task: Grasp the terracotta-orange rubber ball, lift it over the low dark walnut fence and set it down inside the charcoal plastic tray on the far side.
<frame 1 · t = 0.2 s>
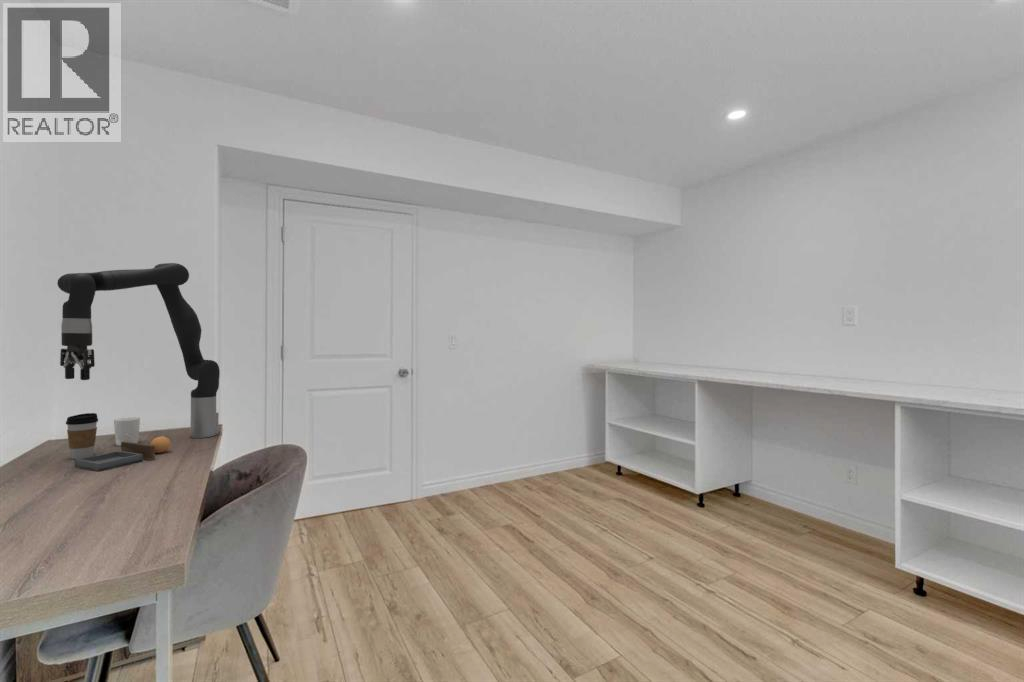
hand: (77, 379, 151), 29 cm above the table, fingers open, 8 cm apart
fence: (137, 457, 159), on the table
coffee cup: (82, 457, 159), on the table
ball: (160, 452, 166), on the table
white cup: (127, 444, 178), on the table
tray: (109, 464, 151), on the table
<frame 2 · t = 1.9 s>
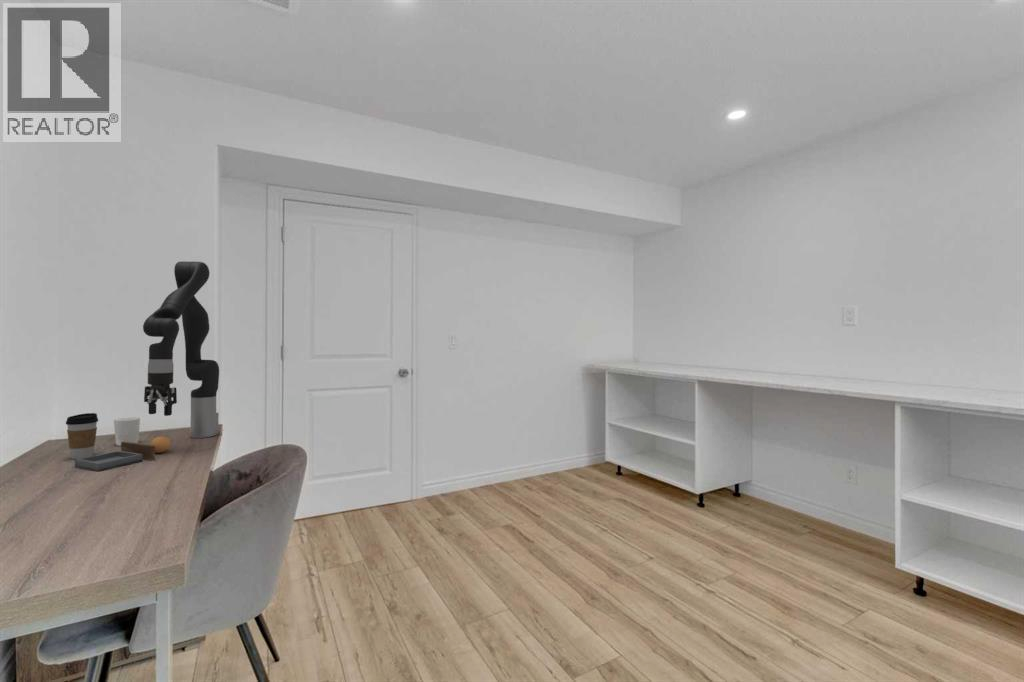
hand: (160, 414, 166), 14 cm above the table, fingers open, 8 cm apart
nothing on the table moved.
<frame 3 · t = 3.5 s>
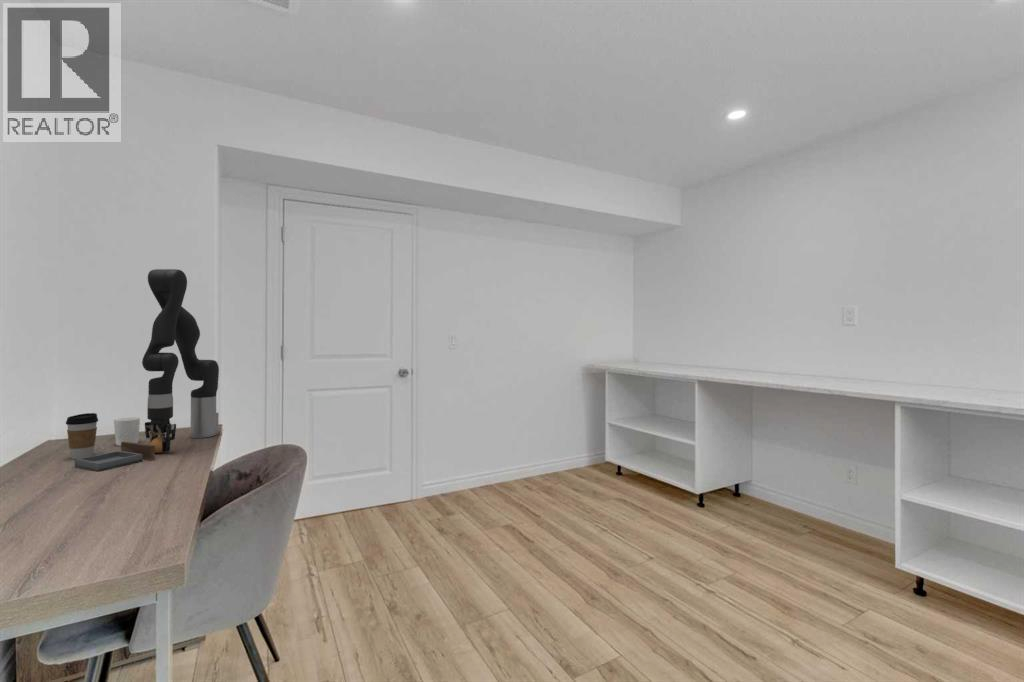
hand: (160, 450, 166), 1 cm above the table, fingers closed on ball, 6 cm apart
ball: (160, 452, 166), on the table, touching gripper
everything else where it was.
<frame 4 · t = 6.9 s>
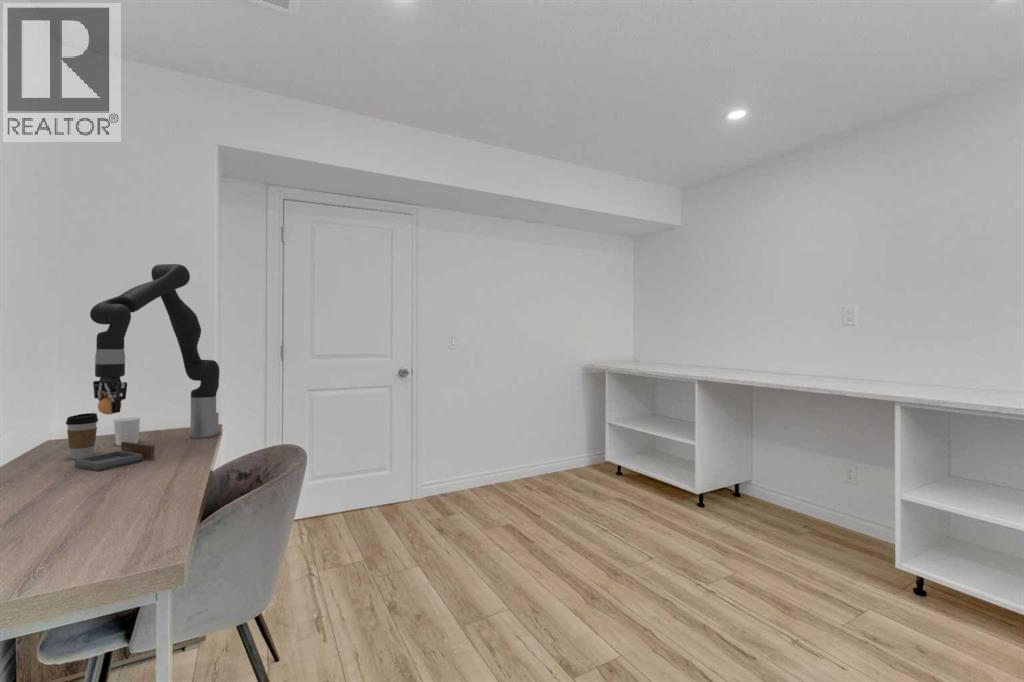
hand: (109, 411, 151), 18 cm above the table, fingers closed on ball, 6 cm apart
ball: (109, 414, 151), point 17 cm above the table, touching gripper
everything else where it was.
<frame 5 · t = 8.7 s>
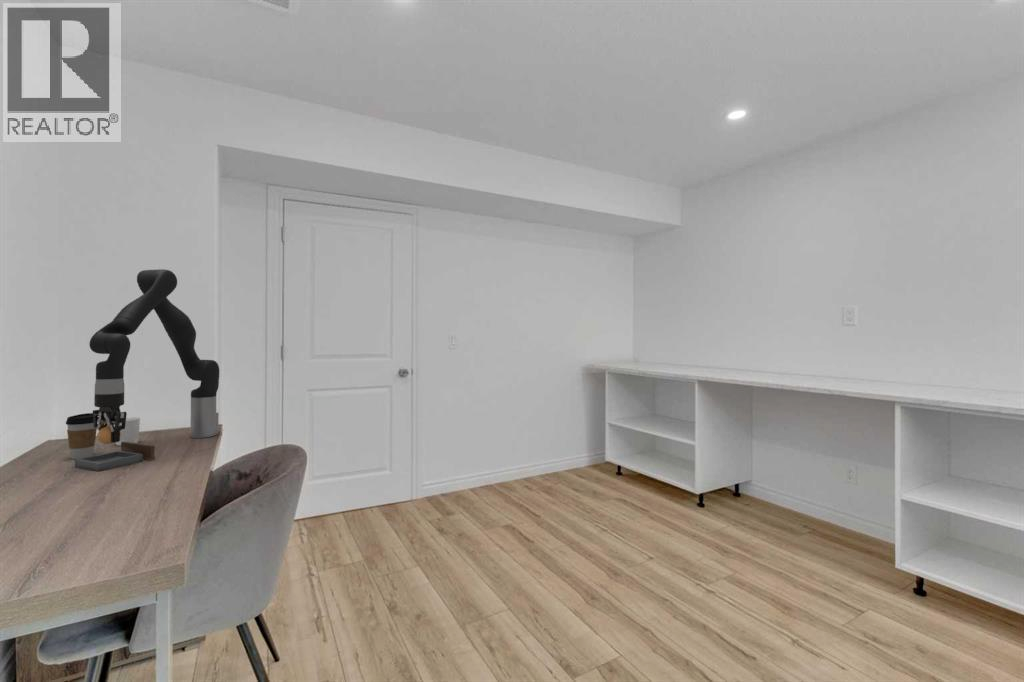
hand: (109, 441, 151), 8 cm above the table, fingers closed on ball, 6 cm apart
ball: (109, 443, 151), point 7 cm above the table, touching gripper
everything else where it was.
when the fingers open (3 cm above the table, at t = 10.2 s): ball drops 1 cm, resting on tray.
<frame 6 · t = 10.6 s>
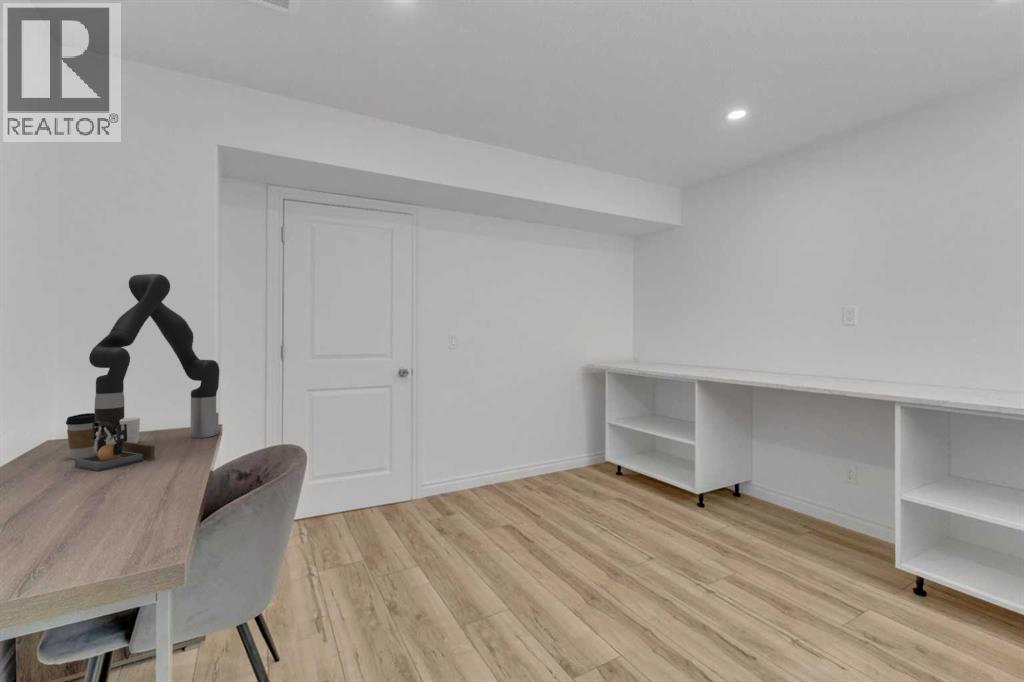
hand: (109, 453, 151), 4 cm above the table, fingers open, 8 cm apart
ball: (109, 461, 151), point 1 cm above the table, touching tray
everything else where it was.
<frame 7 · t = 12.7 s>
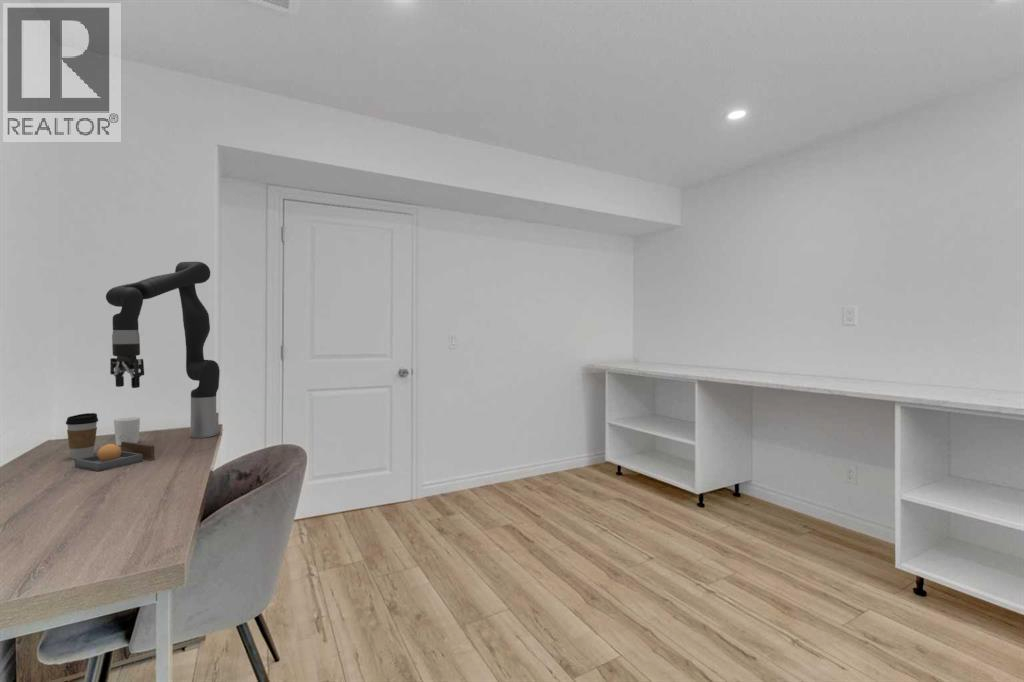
hand: (127, 387, 161), 25 cm above the table, fingers open, 8 cm apart
nothing on the table moved.
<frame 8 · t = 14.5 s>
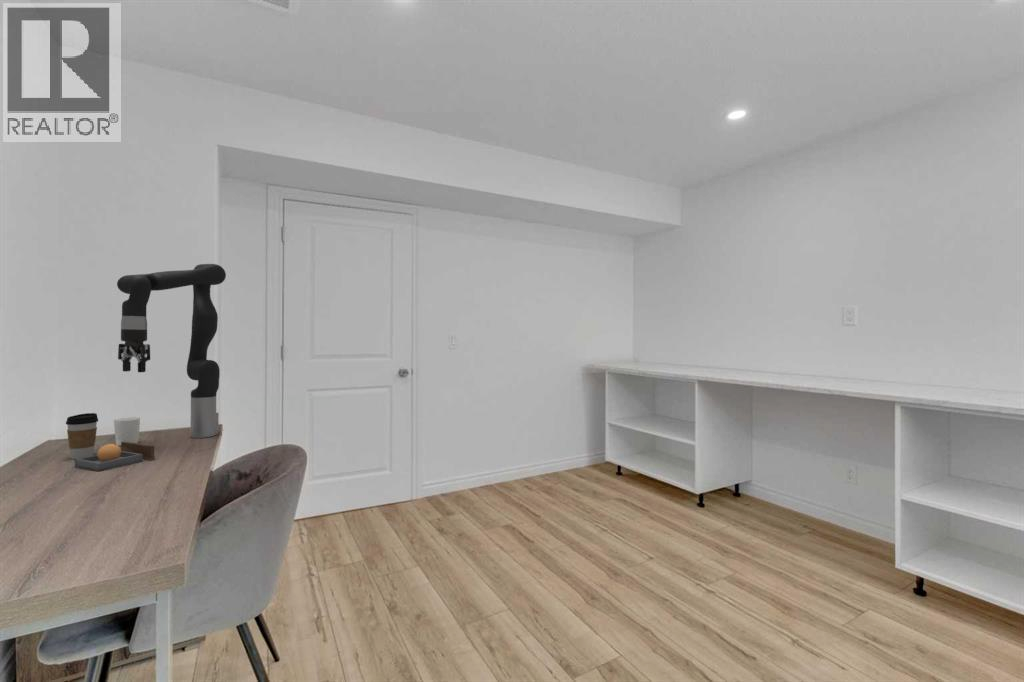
hand: (134, 371, 166), 30 cm above the table, fingers open, 8 cm apart
nothing on the table moved.
at the end: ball inside the target area on the tray (0.0 cm from its centre), point 0.8 cm above the tray's base; the gripper is holding nothing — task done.
